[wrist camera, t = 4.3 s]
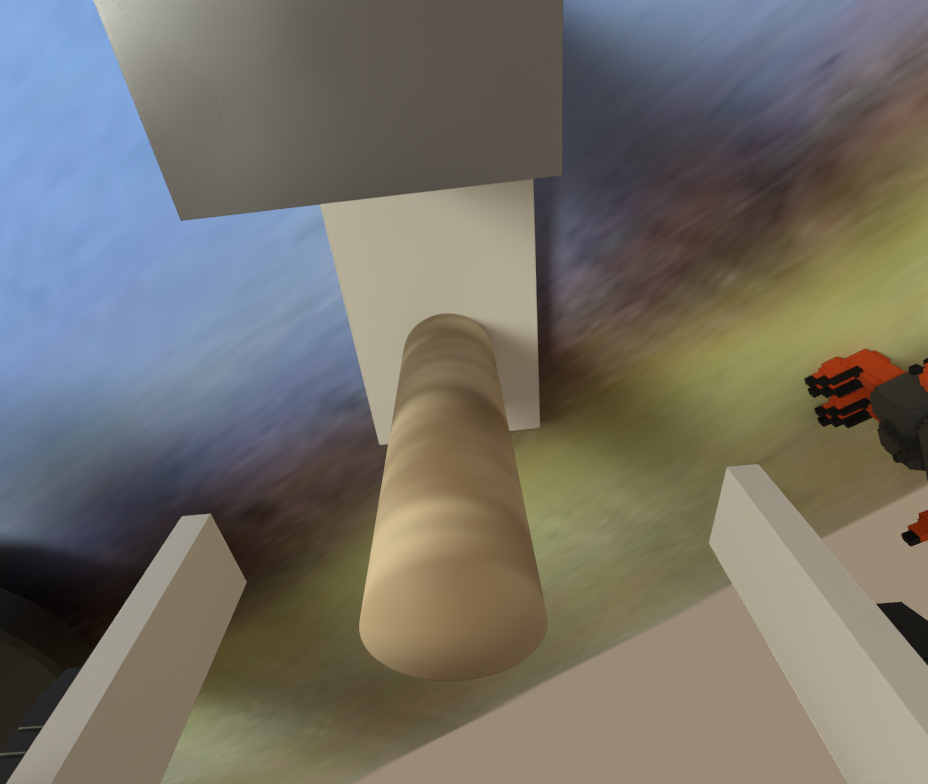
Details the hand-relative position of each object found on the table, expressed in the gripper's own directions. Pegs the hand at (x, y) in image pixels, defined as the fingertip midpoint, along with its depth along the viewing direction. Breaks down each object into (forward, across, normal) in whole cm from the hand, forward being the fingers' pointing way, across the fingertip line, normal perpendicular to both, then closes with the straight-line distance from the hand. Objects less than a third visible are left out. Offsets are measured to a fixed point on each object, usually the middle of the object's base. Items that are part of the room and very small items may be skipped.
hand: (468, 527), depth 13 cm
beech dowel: (+10, -1, 0) cm, 10 cm away
